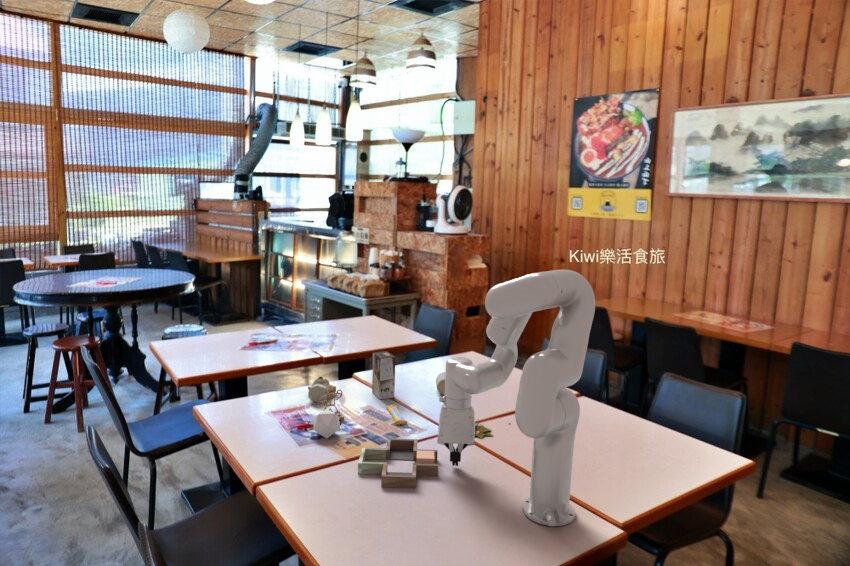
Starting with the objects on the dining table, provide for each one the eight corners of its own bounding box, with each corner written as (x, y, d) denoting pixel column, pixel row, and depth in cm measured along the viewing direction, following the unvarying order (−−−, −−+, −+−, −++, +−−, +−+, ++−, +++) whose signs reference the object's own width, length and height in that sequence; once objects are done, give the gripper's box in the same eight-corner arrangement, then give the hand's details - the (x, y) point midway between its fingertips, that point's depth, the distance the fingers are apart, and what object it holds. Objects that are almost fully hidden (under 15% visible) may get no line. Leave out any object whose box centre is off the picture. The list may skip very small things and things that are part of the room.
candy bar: (408, 426, 193) (408, 420, 193) (396, 427, 192) (396, 421, 192) (396, 408, 209) (396, 403, 209) (385, 409, 208) (385, 404, 208)
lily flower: (464, 442, 182) (464, 428, 181) (452, 427, 193) (453, 414, 193) (499, 439, 185) (500, 426, 184) (486, 425, 196) (486, 412, 196)
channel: (438, 488, 151) (438, 478, 151) (354, 486, 151) (354, 475, 151) (436, 449, 175) (437, 439, 175) (364, 446, 175) (364, 437, 175)
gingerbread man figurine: (318, 422, 192) (318, 388, 191) (316, 418, 196) (316, 384, 194) (344, 419, 196) (344, 386, 194) (341, 415, 199) (342, 382, 197)
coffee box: (395, 397, 219) (396, 356, 216) (379, 399, 216) (380, 358, 214) (386, 390, 227) (387, 350, 225) (371, 392, 224) (372, 352, 222)
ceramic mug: (436, 396, 222) (437, 377, 221) (435, 389, 230) (436, 371, 229) (462, 397, 222) (463, 378, 221) (460, 390, 230) (461, 372, 229)
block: (434, 472, 161) (434, 458, 160) (416, 471, 161) (416, 458, 160) (433, 464, 166) (434, 450, 165) (416, 463, 166) (416, 450, 165)
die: (345, 438, 182) (344, 408, 187) (330, 433, 175) (329, 403, 180) (323, 443, 185) (323, 413, 190) (307, 438, 178) (307, 408, 182)
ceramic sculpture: (302, 380, 208) (310, 370, 223) (302, 404, 208) (309, 392, 223) (332, 382, 208) (337, 372, 223) (331, 405, 209) (337, 393, 224)
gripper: (431, 405, 157) (428, 468, 159) (485, 407, 157) (482, 470, 159) (430, 396, 164) (428, 456, 167) (483, 398, 164) (480, 458, 167)
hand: (455, 463), depth 163 cm, fingers closed
